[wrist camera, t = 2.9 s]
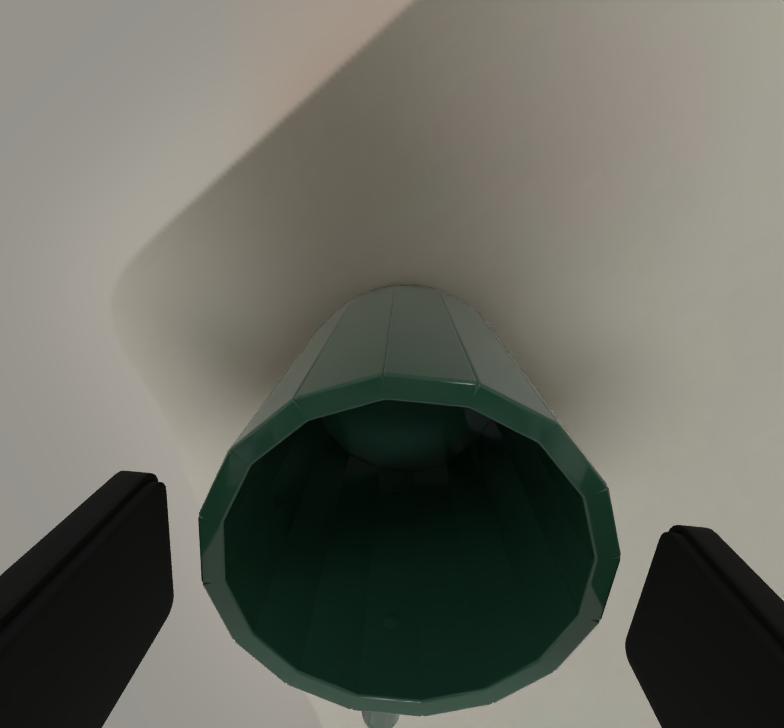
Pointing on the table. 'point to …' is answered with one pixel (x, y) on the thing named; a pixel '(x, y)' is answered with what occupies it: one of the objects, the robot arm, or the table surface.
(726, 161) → the table surface
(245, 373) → the table surface
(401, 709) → the mug
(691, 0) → the table surface
